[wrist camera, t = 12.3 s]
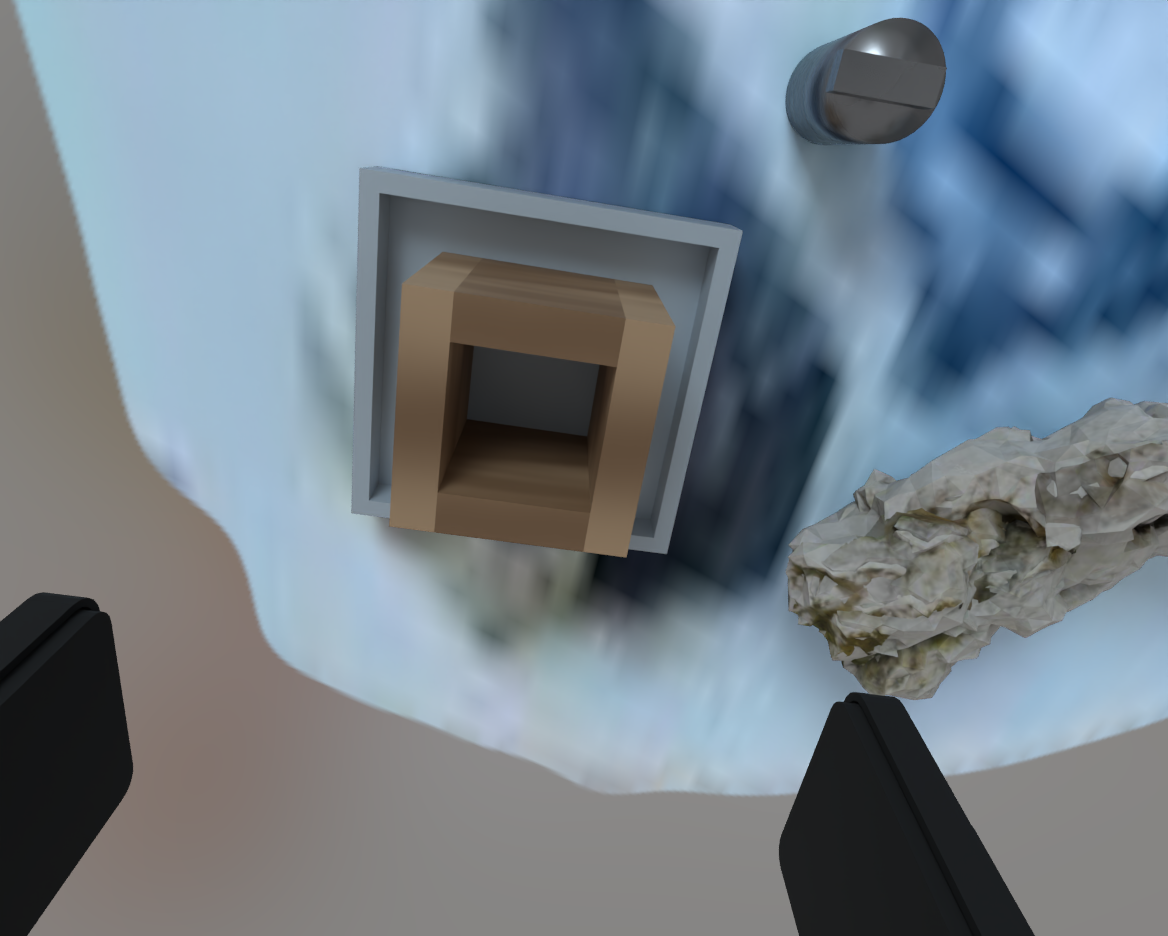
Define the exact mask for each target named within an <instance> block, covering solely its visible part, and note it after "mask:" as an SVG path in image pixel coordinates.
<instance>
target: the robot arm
mask: <svg viewBox="0 0 1168 936" xmlns="http://www.w3.org/2000/svg"><path fill="white" fill-rule="evenodd" d="M132 774H133V762H132V755H131V749H130V743H129V736H128V730H127V723H126V716H125V709H124V703H123V696H122V690H121V683H120V676H119V670H118V663H117V656H116V651H115V643H114V637H113V631H112V624H111V620H110V616H109V615H108V614H107V613H105V612H100V610H99V607H98V604H97V603H96V602H95V601H94V600H93V599H90V598H84V597H76V596H68V595H60V594H52V593H38V594H35V595H33V596H32V597H30V598H29V599H27V600H26V601H25V602H23V603H22V604H21V605H20V606H19V607H17V608H16V609H15V610H14V611H13V612H11V613H10V614H9V615H8V616H6V617H5V618H4V619H3V620H2V621H0V936H27V935H28V934H29V932H30V931H31V929H32V928H33V926H34V925H35V924H36V922H37V921H38V919H39V918H40V916H41V915H42V914H43V912H44V911H45V909H46V908H47V906H48V905H49V904H50V902H51V900H52V899H53V898H54V896H55V895H56V894H57V892H58V891H59V889H60V888H61V886H62V885H63V883H64V882H65V881H66V879H67V878H68V876H69V875H70V873H71V872H72V871H73V869H74V868H75V866H76V865H77V864H78V862H79V861H80V859H81V858H82V856H83V855H84V853H85V852H86V851H87V849H88V848H89V846H90V845H91V843H92V842H93V841H94V839H95V838H96V836H97V835H98V833H99V832H100V830H101V829H102V828H103V826H104V825H105V823H106V822H107V821H108V819H109V818H110V816H111V815H112V813H113V812H114V810H115V809H116V808H117V806H118V805H119V803H120V802H121V801H122V799H123V797H124V796H125V794H126V792H127V790H128V788H129V785H130V782H131V779H132ZM779 860H780V866H781V871H782V874H783V878H784V881H785V885H786V889H787V893H788V896H789V900H790V904H791V907H792V911H793V915H794V918H795V922H796V926H797V930H798V933H799V936H1035V935H1034V934H1033V932H1032V930H1031V928H1030V926H1029V925H1028V923H1027V921H1026V919H1025V918H1024V916H1023V914H1022V912H1021V911H1020V909H1019V907H1018V905H1017V903H1016V902H1015V900H1014V898H1013V897H1012V895H1011V893H1010V891H1009V889H1008V888H1007V886H1006V884H1005V882H1004V881H1003V879H1002V877H1001V875H1000V873H999V872H998V870H997V868H996V866H995V865H994V863H993V861H992V859H991V858H990V856H989V854H988V852H987V851H986V849H985V847H984V845H983V844H982V842H981V840H980V838H979V836H978V835H977V833H976V831H975V830H974V828H973V827H972V825H971V824H970V822H969V820H968V818H967V817H966V815H965V813H964V811H963V810H962V808H961V806H960V804H959V803H958V801H957V799H956V797H955V796H954V794H953V792H952V790H951V788H950V787H949V785H948V783H947V781H946V780H945V778H944V776H943V774H942V773H941V771H940V769H939V767H938V765H937V764H936V762H935V760H934V758H933V757H932V755H931V753H930V751H929V750H928V748H927V746H926V744H925V742H924V741H923V739H922V737H921V735H920V734H919V732H918V730H917V728H916V727H915V725H914V723H913V721H912V720H911V718H910V716H909V714H908V712H907V711H906V709H905V707H904V706H903V704H902V703H901V702H900V700H898V699H897V698H895V697H890V696H882V695H874V694H866V693H858V692H853V693H850V694H849V695H848V696H847V697H846V699H845V701H844V702H836V703H835V704H833V706H832V708H831V710H830V713H829V715H828V718H827V720H826V723H825V726H824V728H823V731H822V733H821V736H820V738H819V741H818V743H817V746H816V748H815V751H814V753H813V756H812V759H811V761H810V764H809V766H808V769H807V771H806V774H805V776H804V779H803V781H802V784H801V787H800V789H799V792H798V794H797V797H796V799H795V802H794V805H793V807H792V809H791V812H790V814H789V817H788V820H787V822H786V825H785V827H784V830H783V832H782V835H781V838H780V844H779Z"/></svg>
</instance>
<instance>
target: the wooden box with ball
mask: <svg viewBox="0 0 1168 936" xmlns="http://www.w3.org/2000/svg"><path fill="white" fill-rule="evenodd" d="M675 327H676V326H675V324H674V323H673V321H672V319H671V317H670V316H669V314H668V312H667V310H666V308H665V307H664V305H663V303H662V301H661V299H660V298H659V296H658V294H657V292H656V290H655V289H654V287H653V285H648V284H642V283H636V282H629V281H623V280H617V279H611V278H604V277H598V276H592V275H586V274H579V273H573V272H567V271H561V270H554V269H548V268H542V267H536V266H529V265H523V264H517V263H511V262H505V261H498V260H492V259H486V258H480V257H473V256H467V255H461V254H455V253H448V252H442V253H440V254H439V255H438V256H437V257H435V258H434V259H433V260H431V261H430V262H429V263H428V264H426V265H425V266H424V267H422V268H421V269H420V270H419V271H417V272H416V273H415V274H414V275H412V276H411V277H410V278H408V279H407V280H406V281H405V282H403V283H402V291H401V310H400V330H399V349H398V368H397V387H396V406H395V425H394V445H393V464H392V483H391V502H390V521H389V526H390V527H398V528H406V529H413V530H421V531H428V532H436V533H444V534H451V535H459V536H467V537H474V538H482V539H489V540H497V541H505V542H512V543H520V544H528V545H535V546H543V547H550V548H558V549H566V550H573V551H581V552H589V553H596V554H604V555H611V556H619V557H627V553H628V548H629V543H630V539H631V534H632V529H633V524H634V520H635V515H636V510H637V506H638V501H639V496H640V491H641V487H642V482H643V477H644V473H645V468H646V463H647V458H648V454H649V449H650V444H651V440H652V435H653V430H654V426H655V421H656V416H657V411H658V407H659V402H660V397H661V393H662V388H663V383H664V378H665V374H666V369H667V364H668V360H669V355H670V350H671V345H672V341H673V336H674V331H675ZM474 346H480V347H486V348H493V349H499V350H506V351H513V352H519V353H526V354H533V355H539V356H546V357H552V358H559V359H566V360H572V361H579V362H586V363H592V364H599V371H598V377H597V383H596V389H595V394H594V400H593V406H592V412H591V418H590V423H589V429H588V435H587V436H581V435H574V434H567V433H560V432H553V431H547V430H540V429H533V428H526V427H519V426H512V425H505V424H498V423H491V422H484V421H477V420H470V419H467V414H468V403H469V393H470V382H471V372H472V362H473V351H474Z"/></svg>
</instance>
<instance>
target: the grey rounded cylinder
mask: <svg viewBox="0 0 1168 936" xmlns="http://www.w3.org/2000/svg"><path fill="white" fill-rule="evenodd" d="M946 69H947V68H946V64H945V57H944V52H943V50H942V47H941V44H940V43H939V41H938V39H937V37H936V36H935V35H934V33H933V32H932V31H931V30H930V29H929V28H927V27H926V26H925V25H923V24H922V23H919V22H917V21H915V20H911V19H907V18H892V19H887V20H884V21H881V22H878V23H875V24H873V25H871V26H868V27H866V28H863V29H861V30H859V31H856V32H854V33H851V34H849V35H847V36H844V37H842V38H839V39H837V40H834V41H832V42H830V43H827V44H825V45H822V46H820V47H818V48H816V49H814V50H813V51H811V52H810V53H809V54H807V55H806V56H805V57H804V58H803V59H802V60H801V61H800V62H799V64H798V65H797V67H796V68H795V70H794V72H793V73H792V75H791V78H790V80H789V83H788V87H787V92H786V110H787V114H788V118H789V120H790V122H791V125H792V126H793V128H794V129H795V130H796V132H797V133H798V134H799V135H800V136H802V137H803V138H804V139H806V140H808V141H810V142H812V143H816V144H823V145H830V144H886V143H891V142H895V141H898V140H901V139H903V138H905V137H907V136H909V135H910V134H912V133H913V132H915V131H916V130H917V129H918V128H920V127H921V126H922V125H923V124H924V123H925V122H926V121H927V119H928V118H929V117H930V116H931V114H932V113H933V111H934V109H935V108H936V106H937V104H938V102H939V100H940V97H941V95H942V92H943V88H944V84H945V77H946Z"/></svg>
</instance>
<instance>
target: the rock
mask: <svg viewBox="0 0 1168 936" xmlns="http://www.w3.org/2000/svg"><path fill="white" fill-rule="evenodd" d="M853 495H854V498H855V501H854V502H852V503H850V504H848V505H847V506H845V507H844V508H842V509H841V510H839V511H838V512H836V513H835V514H833V515H831V516H829V517H827V518H825V519H823V520H821V521H819V522H818V523H816V524H814V525H812V526H809V527H807V528H804V529H803V530H802V531H801V532H800V533H799V534H798V535H797V536H796V537H795V538H794V539H793V541H792V542H791V543H790V544H789V546H790V547H791V548H792V549H793V553H792V554H791V555H790V556H788V558H789V562H788V566H787V569H786V574H787V576H788V602H789V611H791V612H794V613H796V614H798V617H799V618H798V624H799V625H806V626H812V625H814V626H815V627H817V628H819V632H820V633H822V634H823V635H824V637H825V638H826V639H827V641H828V644H829V649H830V654H831V658H832V660H837V661H841V662H842V665H843V668H845V669H846V670H848V671H849V672H850V673H852V674H853V675H855V677H856V678H857V680H858V681H859V682H860V684H861V685H862V687H863V688H864V689H865V690H866V691H867V692H868V693H869V694H874V695H882V696H884V695H892V696H897V697H902V698H906V699H911V700H919V699H926V698H932V697H933V695H934V694H935V692H936V690H937V689H938V687H939V685H940V683H941V682H942V681H943V680H944V679H945V678H946V676H947V675H948V674H949V673H950V672H951V667H952V666H953V665H954V664H955V663H956V662H957V661H960V660H966V659H975V658H977V657H978V656H979V653H980V650H981V648H982V647H984V646H987V645H989V644H990V642H991V637H992V636H993V635H994V633H995V632H996V631H997V630H998V629H999V628H1000V626H1002V627H1005V628H1007V629H1009V630H1011V631H1013V632H1015V633H1016V634H1018V635H1020V636H1022V637H1024V638H1026V637H1028V636H1030V635H1032V634H1034V633H1036V632H1038V631H1039V630H1041V629H1043V628H1045V627H1047V626H1049V625H1052V624H1054V623H1057V622H1059V621H1062V620H1063V618H1064V616H1065V614H1066V612H1069V611H1071V610H1073V609H1075V608H1077V607H1078V606H1080V605H1082V604H1084V603H1086V602H1088V601H1091V600H1093V599H1094V598H1095V597H1096V596H1098V595H1099V594H1100V593H1101V592H1103V591H1106V590H1109V589H1111V588H1112V587H1113V586H1114V585H1116V584H1117V583H1118V582H1119V581H1120V580H1122V579H1123V578H1124V577H1126V576H1128V575H1130V574H1131V573H1133V572H1135V571H1137V570H1139V569H1140V568H1141V567H1142V566H1143V565H1144V563H1145V562H1146V561H1147V560H1148V559H1150V558H1152V557H1155V556H1168V403H1158V402H1147V401H1143V402H1140V403H1137V404H1134V405H1133V404H1132V403H1131V402H1130V401H1125V400H1120V399H1115V398H1108V399H1106V400H1104V401H1102V402H1100V403H1098V404H1096V405H1094V406H1092V408H1091V409H1090V410H1089V411H1088V412H1087V413H1086V414H1085V415H1084V416H1083V418H1081V419H1080V420H1078V421H1076V422H1074V423H1072V424H1070V425H1068V426H1066V427H1064V428H1062V429H1060V430H1058V431H1056V432H1054V433H1053V434H1051V435H1049V436H1047V437H1045V438H1043V439H1040V438H1037V437H1034V436H1031V433H1030V430H1020V429H1018V428H1017V427H1012V428H1010V427H997V428H995V429H993V430H991V431H989V432H988V433H986V434H984V435H982V436H980V437H978V438H977V439H969V440H967V441H965V442H964V443H962V444H960V445H958V446H957V447H955V448H953V449H952V450H950V451H948V452H946V453H945V454H943V455H941V456H939V457H938V458H936V459H934V460H932V461H931V462H929V463H928V464H927V465H925V466H924V467H923V468H921V469H920V470H919V471H917V472H916V473H914V474H911V475H910V477H909V478H906V479H902V480H898V481H896V480H895V479H894V478H892V477H891V476H889V475H887V474H885V473H883V472H880V471H878V470H876V469H874V470H873V472H872V473H871V475H870V477H869V479H868V480H867V482H866V484H865V485H864V486H862V487H861V488H859V489H858V490H856V491H855V493H854V494H853Z"/></svg>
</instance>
